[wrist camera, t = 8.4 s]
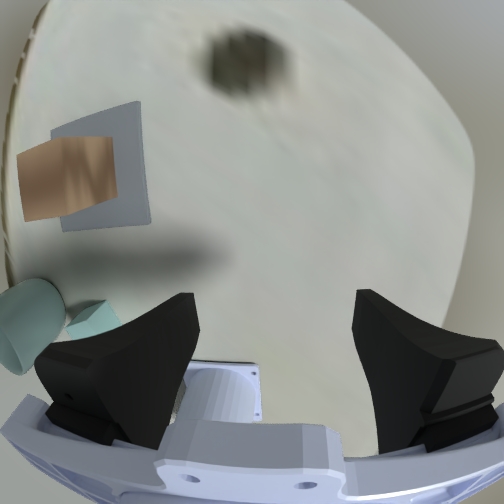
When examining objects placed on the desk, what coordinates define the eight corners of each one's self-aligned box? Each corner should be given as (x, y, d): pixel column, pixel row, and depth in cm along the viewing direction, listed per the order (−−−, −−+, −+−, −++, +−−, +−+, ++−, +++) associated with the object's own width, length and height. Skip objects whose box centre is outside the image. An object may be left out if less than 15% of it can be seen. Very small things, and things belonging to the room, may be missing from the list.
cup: (61, 267, 24) (-3, 313, 15) (83, 330, 27) (35, 384, 17) (24, 269, 25) (-31, 306, 16) (44, 324, 28) (-1, 367, 18)
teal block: (127, 331, 26) (110, 354, 22) (104, 338, 27) (86, 359, 23) (107, 299, 25) (86, 320, 21) (84, 308, 26) (64, 327, 22)
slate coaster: (151, 222, 22) (148, 224, 21) (66, 230, 23) (62, 232, 22) (140, 101, 18) (137, 100, 18) (54, 130, 19) (50, 130, 19)
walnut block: (118, 196, 20) (67, 215, 14) (75, 203, 21) (24, 222, 15) (112, 136, 19) (58, 136, 13) (69, 149, 19) (16, 155, 13)
